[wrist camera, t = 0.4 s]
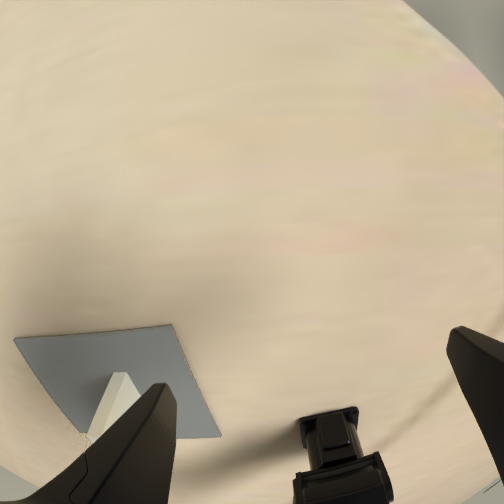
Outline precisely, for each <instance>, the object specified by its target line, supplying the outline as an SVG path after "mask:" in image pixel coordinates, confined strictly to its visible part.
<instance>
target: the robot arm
mask: <svg viewBox="0 0 504 504" xmlns="http://www.w3.org/2000/svg"><path fill="white" fill-rule="evenodd" d="M446 351H447V356H448V358H449V361H450V363H451V365H452V368H453V370H454V373H455V375H456V378H457V380H458V383H459V385H460V388H461V390H462V392H463V394H464V396H465V398H466V400H467V402H468V404H469V406H470V408H471V410H472V412H473V414H474V416H475V419H476V421H477V423H478V425H479V427H480V429H481V431H482V434H483V436H484V438H485V440H486V443H487V445H488V447H489V450H490V452H491V454H492V457H493V459H494V462H495V464H496V467H497V469H498V472H499V474H500V477H501V480H502V482H503V484H504V343H503V342H500V341H498V340H495V339H493V338H491V337H488V336H486V335H484V334H481V333H479V332H476V331H474V330H472V329H469V328H467V327H464V326H459V327H456V328H453V329H452V330H451V331H450V335H449V340H448V344H447V348H446ZM358 415H359V410H358V408H357V407H352V408H348V409H344V410H340V411H336V412H331V413H326V414H322V415H317V416H312V417H306V418H302V419H300V420H299V422H300V429H301V435H302V442H303V448H305V449H307V450H308V456H309V463H310V469H311V471H307V472H302V473H301V472H298V473H296V478H295V479H294V480H293V489H294V497H293V504H389V503H390V502H393V500H394V496H393V489H392V485H391V481H390V478H389V475H388V473H387V471H386V468H385V466H384V463H383V461H382V459H381V456H380V454H379V451H377V452H374V453H373V454H370V455H367V456H364V455H363V451H362V448H361V445H360V441H359V438H358V434H357V425H358ZM176 425H177V401H176V398H175V396H174V395H173V393H172V391H171V389H170V387H169V385H168V384H167V383H165V382H163V383H154V384H153V385H152V386H151V387H150V388H149V389H148V390H147V391H146V392H145V393H144V394H143V395H142V396H141V397H140V398H139V399H138V400H137V401H136V402H135V403H134V404H133V405H132V406H131V407H130V408H129V409H128V410H127V411H126V412H125V413H124V414H122V415H121V416H120V417H119V418H118V419H117V420H116V421H115V422H114V423H113V424H112V425H111V426H110V427H109V428H108V429H107V430H106V431H105V432H104V433H103V434H102V435H101V436H100V437H99V438H98V439H97V440H96V441H95V442H94V443H93V444H92V445H91V446H90V447H89V448H88V449H87V450H86V451H85V452H84V453H82V454H81V455H80V456H79V457H78V458H77V459H76V460H75V461H74V462H73V463H72V464H71V465H69V466H68V467H67V468H66V469H65V470H64V471H62V472H61V473H60V474H59V475H57V476H56V477H55V478H54V479H52V480H51V481H50V482H48V483H47V484H46V485H44V486H43V487H42V488H40V489H39V490H37V491H36V492H35V493H33V494H32V495H30V496H29V497H27V498H25V499H21V500H17V501H0V504H168V497H169V490H170V482H171V475H172V469H173V462H174V455H175V448H176Z"/></svg>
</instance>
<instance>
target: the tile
mask: <svg viewBox="0 0 504 504" xmlns="http://www.w3.org/2000/svg"><path fill="white" fill-rule="evenodd" d="M140 397H141V395H140V394H139V392H138V390H137V389H136V387H135V386H134V384H133V382H132V380H131V379H130V377H129V375H128V374H127V372H114V373H113V375H112V377H111V379H110V381H109V384H108V386H107V388H106V390H105V393H104V395H103V397H102V399H101V402H100V404H99V406H98V409H97V411H96V413H95V416H94V418H93V420H92V423H91V425H90V428H89V430H88V433H87V435H86V437H87V438H88V439H89V440H90V441H91V442H92V443H94V442H95V441H96V440H97V439H98V438H99V437H100V436H101V435H102V434H103V433H104V432H105V431H106V430H107V429H108V428H109V427H110V426H111V425H112V424H113V423H114V422H115V421H116V420H117V419H118V418H119V417H120V416H121V415H122V414H124V413H125V412H126V411H127V410H128V409H129V408H130V407H131V406H132V405H133V404H134V403H135V402H136V401H137V400H138V399H139V398H140Z"/></svg>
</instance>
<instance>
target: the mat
mask: <svg viewBox="0 0 504 504" xmlns="http://www.w3.org/2000/svg"><path fill="white" fill-rule="evenodd" d="M13 341H14V342H15V344H16V346H17V347H18V349H19V351H20V352H21V354H22V356H23V357H24V359H25V360H26V362H27V363H28V365H29V367H30V368H31V370H32V371H33V373H34V374H35V375H36V377H37V378H38V380H39V381H40V383H41V384H42V385H43V387H44V388H45V390H46V391H47V392H48V394H49V395H50V396H51V398H52V399H53V400H54V402H55V403H56V404H57V406H58V407H59V408H60V409H61V411H62V412H63V413H64V414H65V416H66V417H67V418H68V419H69V420H70V422H71V423H72V424H73V425H74V426H75V427H76V429H77V430H78V431H79V432H81V433H88V430H89V428H90V425H91V423H92V420H93V418H94V416H95V413H96V411H97V409H98V406H99V404H100V402H101V399H102V397H103V395H104V393H105V390H106V388H107V386H108V384H109V381H110V379H111V377H112V375H113V373H114V372H127V374H128V375H129V377H130V379H131V380H132V382H133V384H134V386H135V387H136V389H137V390H138V392H139V394H140V395H141V396H142V395H143V394H144V393H145V392H146V391H147V390H148V389H149V388H150V387H151V386H152V385H153V384H154V383H163V382H165V383H167V384H168V385H169V387H170V389H171V391H172V393H173V395H174V396H175V398H176V401H177V425H176V439H195V438H217V437H221V436H222V434H221V432H220V430H219V429H218V427H217V425H216V423H215V421H214V419H213V417H212V415H211V413H210V411H209V408H208V406H207V404H206V402H205V400H204V398H203V396H202V394H201V392H200V390H199V387H198V385H197V383H196V381H195V379H194V376H193V374H192V372H191V370H190V367H189V365H188V363H187V361H186V358H185V356H184V354H183V351H182V349H181V346H180V344H179V342H178V339H177V337H176V334H175V332H174V329H173V327H172V325H166V326H158V327H149V328H141V329H131V330H122V331H112V332H101V333H90V334H77V335H64V336H48V337H29V338H15V339H14V340H13Z"/></svg>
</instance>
